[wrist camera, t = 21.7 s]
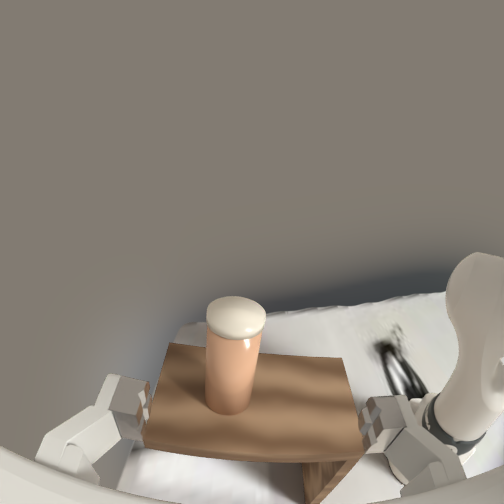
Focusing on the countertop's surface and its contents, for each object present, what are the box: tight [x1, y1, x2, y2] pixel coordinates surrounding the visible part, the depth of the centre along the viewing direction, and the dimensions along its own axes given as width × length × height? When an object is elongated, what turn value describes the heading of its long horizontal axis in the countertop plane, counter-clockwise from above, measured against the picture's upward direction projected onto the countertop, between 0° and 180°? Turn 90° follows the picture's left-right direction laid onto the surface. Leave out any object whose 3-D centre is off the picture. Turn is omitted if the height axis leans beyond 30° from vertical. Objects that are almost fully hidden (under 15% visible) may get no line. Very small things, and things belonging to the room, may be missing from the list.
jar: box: [205, 296, 266, 415], centre depth 31 cm, size 5×5×12 cm
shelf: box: [143, 343, 365, 504], centre depth 38 cm, size 15×23×20 cm, turn 89°
